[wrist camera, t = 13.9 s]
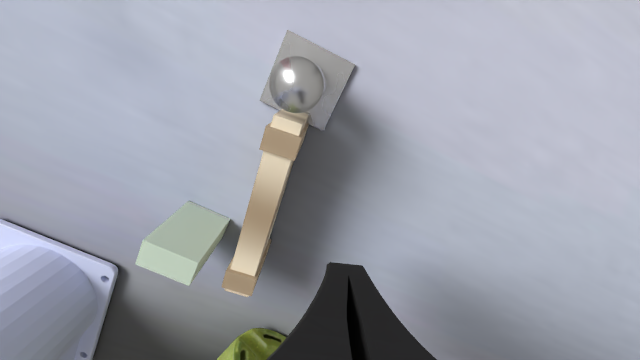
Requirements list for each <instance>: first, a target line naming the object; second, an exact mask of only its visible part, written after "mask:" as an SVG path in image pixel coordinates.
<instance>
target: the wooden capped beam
mask: <svg viewBox="0 0 640 360" xmlns="http://www.w3.org/2000/svg"><path fill="white" fill-rule="evenodd" d="M308 115H309V114H306V113H291V112H288V111H285V110H283V109H282V110H280V111H279V112H277V113H276V114H274V116H273V119H272V122H271V123H269V124H268V125H267V126H266V128H265V131H264V135H263V138H262V142H261V146H260V150H263V155H262V159H261V162H260V166H259V169H258V173H257V176H256V180H255V183H254V187H253V191H252V194H251V198H250V201H249V205H248V208H247V212H246V216H245V219H244V223H243V226H242V230H241V233H240V237H239V240H238V244H237V248H236V251H235V255H234V257H233V259H232V261H231V263H230V264H229V266H228V268H227V270H226V273H225V276H224V280H223V284H222V288H225V291H229V292H232V293H235V294H239V295H242V296H245V297H248V296H252V293H253V290H254V288H255V285H256V282H257V280H258V277H259V274H260V272H261V269H262V266H263V264H264V261H265V258H266V255H267V253H268V250H269V246H270V243H271V239H269V238H270V235H271V232H272V228H273V225H274V222H275V219H276V216H277V213H278V210H279V206H280V203H281V200H282V197H283V194H284V191H285V188H286V184H287V181H288V178H289V175H290V172H291V169H292V166H293V162H294V161H295V159H296V157H297V154H298V152H299V150H300V148H301V146H302V143H303V141H304V138H305V135H306V131H307V128H308V125H309V124H307V123H306V122H307V118H308Z"/></svg>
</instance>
